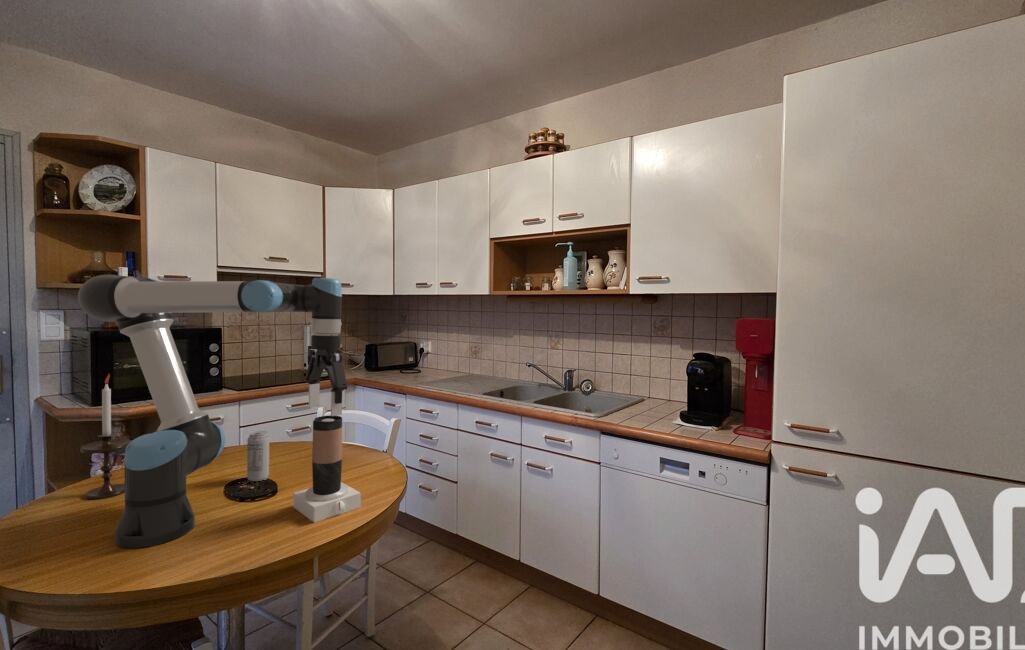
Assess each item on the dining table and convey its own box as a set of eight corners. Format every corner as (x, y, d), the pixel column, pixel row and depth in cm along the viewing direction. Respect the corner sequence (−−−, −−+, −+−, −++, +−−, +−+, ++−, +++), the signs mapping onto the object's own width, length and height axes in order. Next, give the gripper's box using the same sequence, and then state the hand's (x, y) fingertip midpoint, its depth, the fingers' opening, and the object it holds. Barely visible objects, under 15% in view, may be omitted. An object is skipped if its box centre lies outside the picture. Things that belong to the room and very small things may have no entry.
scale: (315, 523, 114) (315, 505, 114) (293, 507, 124) (293, 490, 123) (361, 507, 124) (362, 490, 124) (338, 493, 133) (338, 477, 133)
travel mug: (347, 488, 125) (348, 417, 125) (323, 498, 119) (324, 423, 118) (329, 482, 129) (330, 414, 129) (305, 491, 123) (306, 419, 122)
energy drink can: (273, 477, 145) (273, 431, 144) (258, 484, 139) (258, 436, 138) (257, 475, 146) (258, 429, 146) (242, 481, 140) (242, 434, 140)
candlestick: (141, 486, 135) (140, 371, 134) (108, 501, 124) (107, 376, 123) (105, 485, 135) (105, 370, 134) (69, 500, 124) (68, 375, 123)
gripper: (361, 336, 117) (360, 416, 118) (319, 331, 134) (318, 401, 135) (334, 337, 112) (332, 421, 113) (293, 332, 129) (292, 405, 129)
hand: (324, 410), depth 124 cm, fingers open, 13 cm apart
